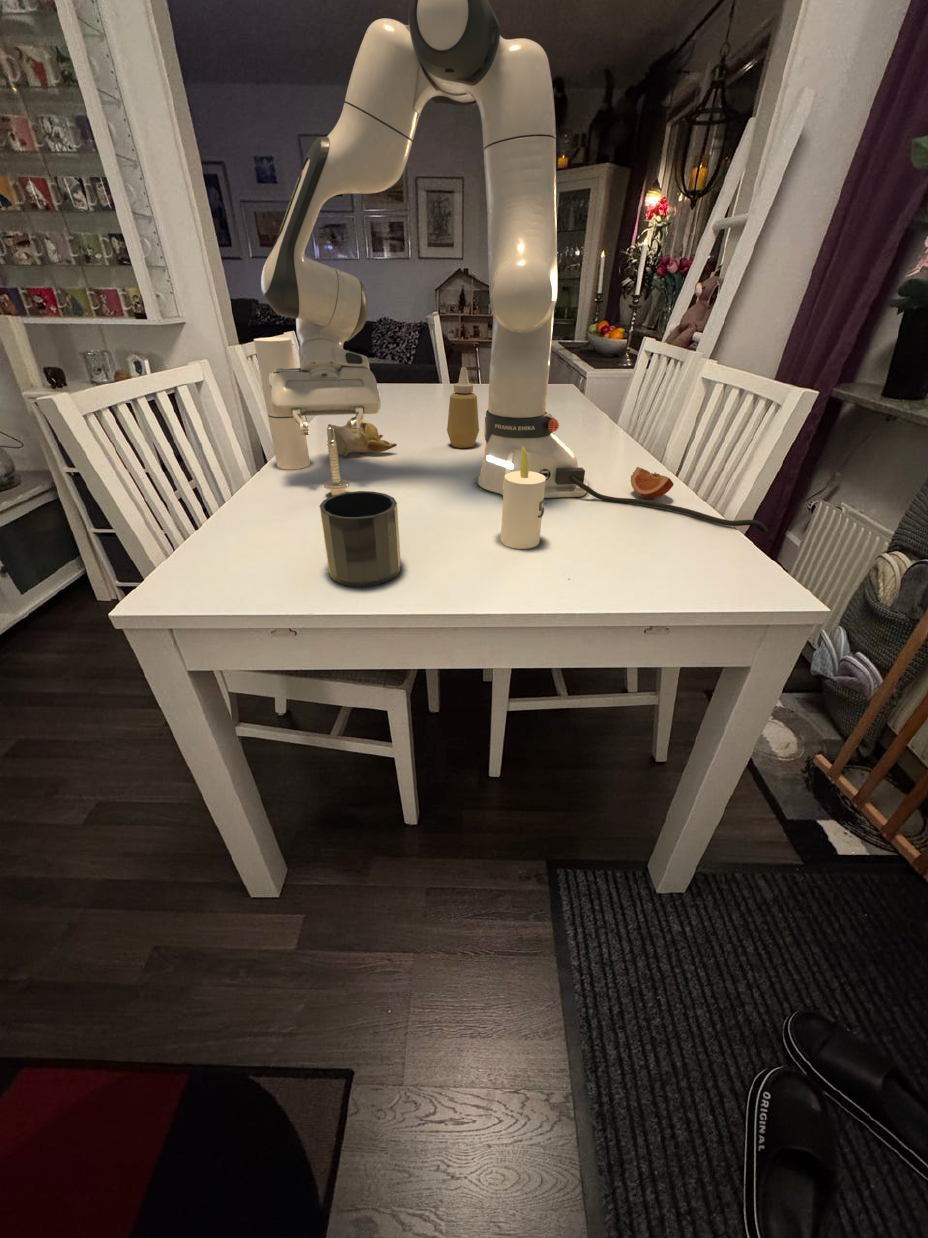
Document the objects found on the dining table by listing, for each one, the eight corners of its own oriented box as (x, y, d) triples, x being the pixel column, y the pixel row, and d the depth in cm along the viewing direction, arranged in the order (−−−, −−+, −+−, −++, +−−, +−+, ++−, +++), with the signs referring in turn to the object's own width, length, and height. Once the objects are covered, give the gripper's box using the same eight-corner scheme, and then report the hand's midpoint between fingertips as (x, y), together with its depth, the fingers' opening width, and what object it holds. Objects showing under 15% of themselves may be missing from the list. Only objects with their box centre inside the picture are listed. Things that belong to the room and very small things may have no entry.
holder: (405, 555, 80) (401, 492, 74) (393, 588, 71) (388, 520, 66) (339, 552, 80) (331, 489, 75) (320, 585, 72) (309, 517, 66)
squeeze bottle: (446, 441, 135) (445, 365, 125) (477, 441, 136) (479, 365, 126) (448, 450, 128) (447, 370, 118) (480, 449, 129) (482, 370, 119)
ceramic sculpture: (320, 412, 122) (381, 410, 128) (323, 449, 126) (381, 446, 133) (334, 422, 114) (398, 419, 120) (336, 461, 119) (397, 457, 125)
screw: (328, 500, 99) (323, 492, 102) (353, 497, 100) (347, 489, 104) (318, 429, 92) (313, 423, 95) (345, 427, 93) (340, 421, 97)
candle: (530, 552, 81) (539, 456, 73) (493, 542, 84) (498, 448, 76) (546, 538, 86) (557, 445, 77) (511, 529, 88) (518, 439, 80)
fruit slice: (621, 492, 105) (625, 467, 102) (645, 487, 107) (651, 463, 104) (651, 506, 98) (657, 480, 96) (677, 500, 101) (683, 475, 98)
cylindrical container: (314, 460, 120) (296, 337, 106) (303, 470, 114) (283, 341, 100) (284, 459, 120) (262, 336, 107) (271, 468, 114) (247, 340, 101)
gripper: (264, 357, 96) (270, 425, 94) (375, 356, 100) (384, 421, 98) (271, 379, 102) (276, 443, 100) (375, 377, 106) (383, 439, 104)
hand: (330, 432), depth 99 cm, fingers open, 8 cm apart
